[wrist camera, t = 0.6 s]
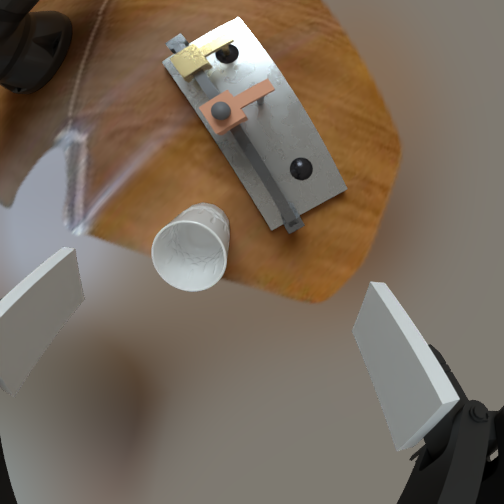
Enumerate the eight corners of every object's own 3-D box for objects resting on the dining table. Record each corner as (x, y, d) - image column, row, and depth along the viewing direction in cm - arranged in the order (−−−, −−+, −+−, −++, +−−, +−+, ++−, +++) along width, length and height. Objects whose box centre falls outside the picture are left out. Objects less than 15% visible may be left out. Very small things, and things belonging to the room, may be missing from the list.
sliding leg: (211, 115, 29) (195, 106, 21) (261, 86, 27) (262, 67, 19) (225, 135, 30) (213, 134, 22) (274, 107, 28) (281, 95, 20)
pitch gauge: (165, 64, 28) (147, 51, 22) (239, 21, 25) (236, -1, 19) (271, 226, 36) (273, 246, 30) (343, 186, 34) (361, 197, 28)
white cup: (224, 191, 34) (213, 211, 25) (241, 246, 37) (236, 283, 28) (168, 207, 35) (140, 232, 26) (187, 259, 38) (167, 297, 29)
